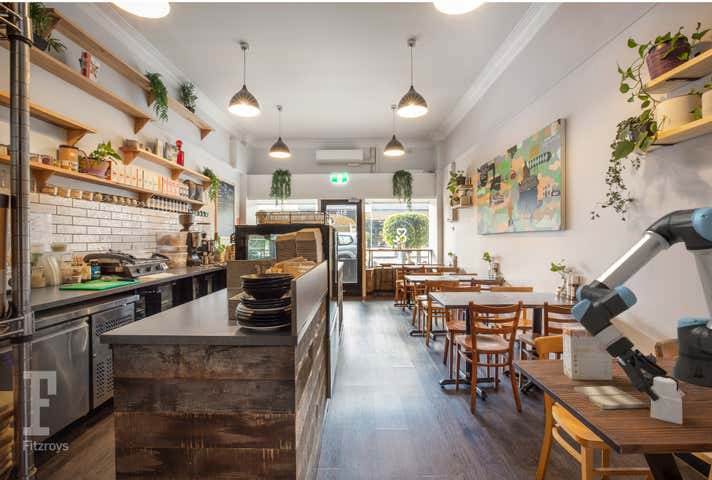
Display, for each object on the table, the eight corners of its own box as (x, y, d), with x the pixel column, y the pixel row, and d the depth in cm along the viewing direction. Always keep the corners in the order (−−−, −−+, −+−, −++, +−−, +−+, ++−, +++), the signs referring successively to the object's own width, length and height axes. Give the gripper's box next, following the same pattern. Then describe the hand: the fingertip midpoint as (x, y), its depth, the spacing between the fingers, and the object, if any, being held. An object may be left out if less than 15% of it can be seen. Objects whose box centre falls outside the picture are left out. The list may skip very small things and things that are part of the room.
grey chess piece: (666, 389, 127) (665, 355, 127) (647, 388, 128) (646, 354, 128) (656, 383, 133) (655, 350, 133) (637, 382, 134) (637, 349, 134)
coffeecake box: (602, 373, 143) (601, 324, 143) (613, 380, 136) (612, 329, 136) (562, 373, 144) (561, 324, 144) (571, 380, 137) (570, 329, 137)
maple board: (612, 389, 128) (612, 385, 128) (645, 407, 114) (645, 403, 114) (574, 390, 127) (574, 387, 127) (602, 409, 113) (602, 405, 113)
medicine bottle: (650, 408, 113) (649, 370, 113) (680, 415, 108) (679, 375, 108) (650, 417, 107) (649, 377, 107) (682, 425, 103) (681, 383, 103)
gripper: (618, 341, 128) (674, 397, 116) (589, 355, 113) (651, 422, 101) (636, 329, 124) (696, 386, 111) (609, 342, 109) (675, 410, 97)
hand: (675, 403), depth 106 cm, fingers open, 13 cm apart
